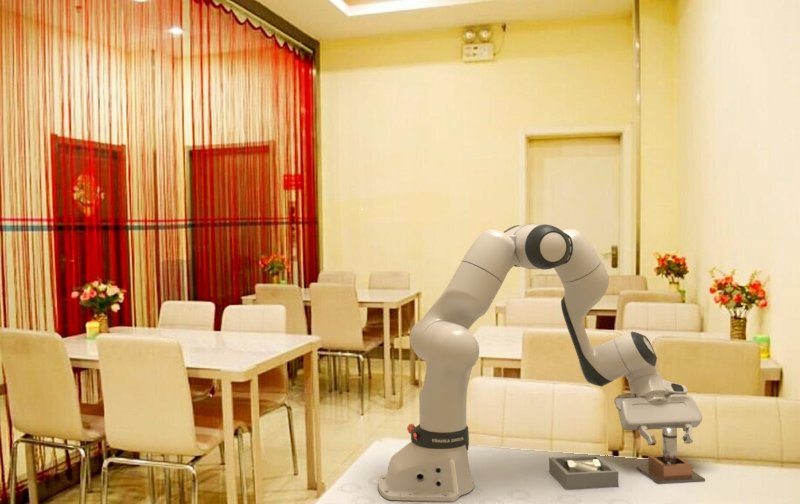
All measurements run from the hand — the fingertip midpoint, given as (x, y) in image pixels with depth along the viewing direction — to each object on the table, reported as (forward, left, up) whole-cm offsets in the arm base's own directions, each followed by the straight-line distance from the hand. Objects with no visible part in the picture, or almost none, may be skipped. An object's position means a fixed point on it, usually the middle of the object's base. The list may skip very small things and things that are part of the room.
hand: (671, 443), depth 154 cm
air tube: (0, +1, -7) cm, 7 cm away
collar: (0, +1, -8) cm, 8 cm away
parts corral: (-22, +1, -8) cm, 23 cm away
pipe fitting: (-21, +2, -8) cm, 23 cm away
